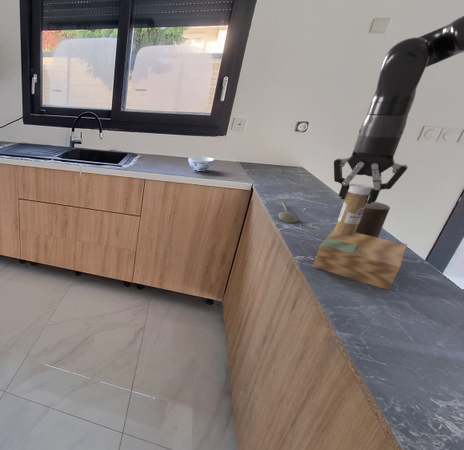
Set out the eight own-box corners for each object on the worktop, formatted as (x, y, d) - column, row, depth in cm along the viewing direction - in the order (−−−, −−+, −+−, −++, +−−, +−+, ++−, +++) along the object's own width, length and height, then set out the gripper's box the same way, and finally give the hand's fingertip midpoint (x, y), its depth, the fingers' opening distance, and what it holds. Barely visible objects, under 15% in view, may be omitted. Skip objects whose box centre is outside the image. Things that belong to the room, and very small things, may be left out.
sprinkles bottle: (349, 237, 82) (368, 188, 77) (330, 231, 86) (346, 184, 81) (358, 234, 84) (377, 186, 79) (338, 228, 88) (355, 182, 83)
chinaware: (187, 172, 196) (188, 160, 193) (186, 167, 209) (188, 156, 206) (213, 174, 191) (215, 161, 188) (210, 168, 204) (212, 157, 201)
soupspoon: (277, 222, 122) (297, 226, 119) (280, 215, 120) (300, 218, 117) (274, 204, 139) (291, 206, 136) (276, 197, 137) (294, 199, 134)
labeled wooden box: (397, 265, 89) (407, 243, 87) (389, 290, 79) (400, 266, 76) (328, 247, 101) (335, 227, 98) (312, 267, 90) (320, 245, 87)
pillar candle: (363, 252, 97) (381, 207, 91) (328, 239, 106) (343, 198, 100) (381, 246, 101) (399, 202, 95) (346, 234, 109) (361, 193, 103)
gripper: (424, 134, 72) (395, 203, 79) (345, 130, 82) (325, 192, 89) (422, 138, 68) (391, 211, 74) (338, 133, 78) (318, 198, 84)
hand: (355, 200), depth 82 cm, fingers closed on sprinkles bottle, 4 cm apart
